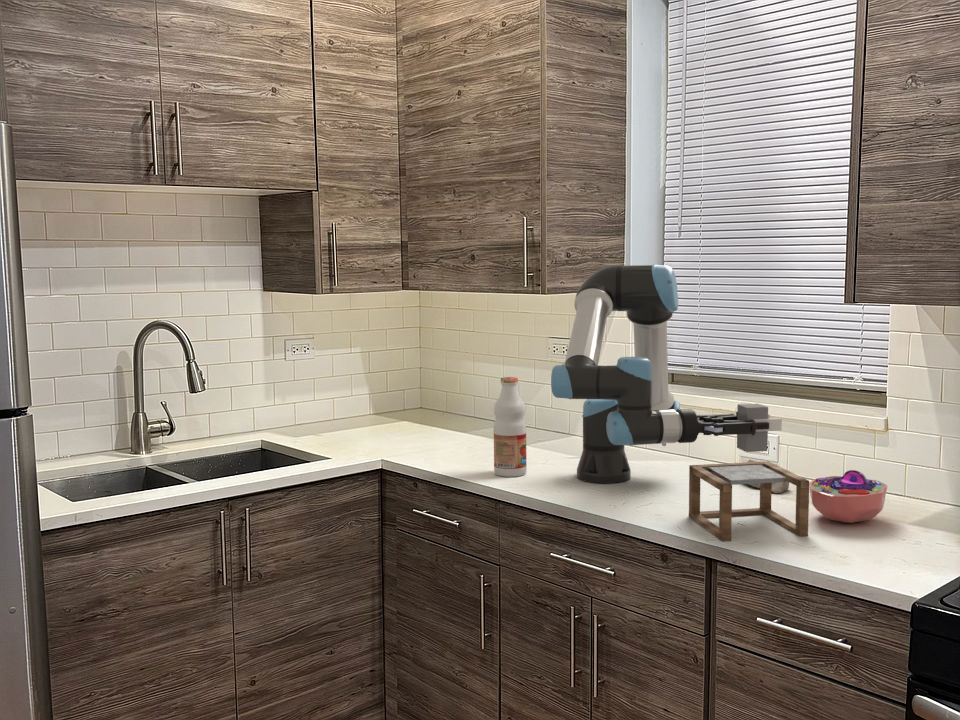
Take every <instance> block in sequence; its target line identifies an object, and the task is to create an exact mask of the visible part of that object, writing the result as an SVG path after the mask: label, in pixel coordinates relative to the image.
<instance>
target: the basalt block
mask: <svg viewBox="0 0 960 720" xmlns="http://www.w3.org/2000/svg"><path fill="white" fill-rule="evenodd" d="M736 412H737V420H753V419H768V414H769V406H767V405H764V404H761V403H744V404H740V403H739V404H737V409H736ZM768 435H769V431H760V432H756V433H755V435H752V434H736V449H739V450H740V451H743V452H744V453H754V452H756V453H757V452H767V451H768V445H769V443H768V442H769V441H768V439H769V437H768Z"/></svg>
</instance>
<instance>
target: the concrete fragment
mask: <svg viewBox="0 0 960 720" xmlns="http://www.w3.org/2000/svg"><path fill="white" fill-rule="evenodd" d="M747 462H758V461H757V460H753V459H749V460H747ZM774 464H775V463H774ZM775 465H777V464H775ZM747 485H748V486H751V487H753V488H756V489H760V483H755V484H747ZM789 486H790V482H788V481H786V482H774V483H772V493H774V494H783V492H785V491H788V490H789Z"/></svg>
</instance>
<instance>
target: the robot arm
mask: <svg viewBox="0 0 960 720" xmlns="http://www.w3.org/2000/svg"><path fill="white" fill-rule="evenodd" d="M573 304H574V308H575V317H574V322H573V325H572V330H571V335H570V339H569V342H568V347H567V350H566V355H565V360H564V363H563V364H562V363H561V364H558V365H557V364H556V365H555V366H554V367H552V370H551V375H550V377H551V378H550V389H551V393H552V395H553V397H555V398H556V399H566V400H567V399H569V400H584V402H583V405H582V406H583V407H582V408H583V409H582V415H581V417H582V452H581V455H580V458H579V461H578V463H577V468H576V478H577V479H579V480H581V481H584V482H589V483H593V484H594V483H595V484H617V483H623V482H626V481H629V480H630V479H631V476H632V475H631V473H632V472H631V467H630V463H629V461H628V458H627V454H626V452H625V451H626V450H625V446H630V447H632V446H641V445H658V444H661V446H662V447H666V446H667V444H675V443H679V444H685V443H687V444H690V443H691V444H692V443H695V442H696V440H697V438H698V435H699V434H702V435H703V436H711V435H713V436H715V437H718V436H729V435H730V436H731V435H737V434H752V435H755V433H756V432H760V431H768V432H779V431H782V419H783V418H779V417H775V418H774V417H773V418H771V414H770V413H768V419H753V420H737V411H735V414H734V413H724V414H723V413H720V414H718V413H717V414H697V413H696V411H695V410H694V409H692V408H681V409H680V406H681V404H680V401H677V400H675V398H674V395H673V394H672V392H671V391H669V367H668V366H669V365H668V364H669V361H668V360H669V359H668V322H669V321H671V318H673V313H674V312H676V311H678V310H679V295H678V283H677V278H676V274H675V271H674V269H673V267H671V266H669V265H661V264H651V265H649V264H647V265H646V264H645V265H644V264H643V265H642V264H641V265H636V264H635V265H618V264H617V265H609V266H605V267H602V268H600V269H599V270H597V271H596V272H593V273H592V274H591V275H589V276H588V277H587V278H586V279H585V281H583V283H582V284H581V285H580V287H579V288H578V290H577V291H576V296H575V299H574V303H573ZM616 311H617V312H626V318H627V319H628V321H630V322H631V323H632V325H633V341H634V342H633V346H634V347H633V348H634V356H622V357H620V358H618V359H617V362H616V365H599V361H600V356H601V351H602V345H603V340H604V335H605V328H606V324H607V318H608V317H610V315H611V314H612V312H616Z"/></svg>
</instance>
